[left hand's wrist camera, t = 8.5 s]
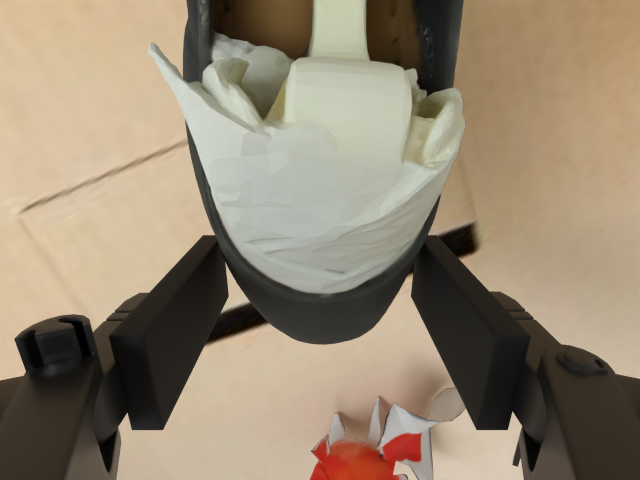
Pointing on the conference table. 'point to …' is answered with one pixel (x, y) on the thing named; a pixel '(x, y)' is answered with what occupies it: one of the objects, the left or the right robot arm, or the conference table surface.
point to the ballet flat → (320, 147)
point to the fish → (385, 444)
